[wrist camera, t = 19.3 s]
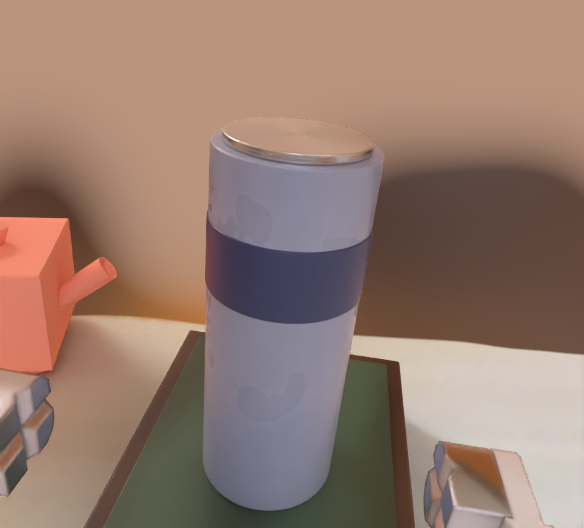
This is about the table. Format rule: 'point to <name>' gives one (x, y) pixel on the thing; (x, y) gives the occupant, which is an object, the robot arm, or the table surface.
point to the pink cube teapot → (40, 290)
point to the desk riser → (244, 521)
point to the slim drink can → (282, 300)
